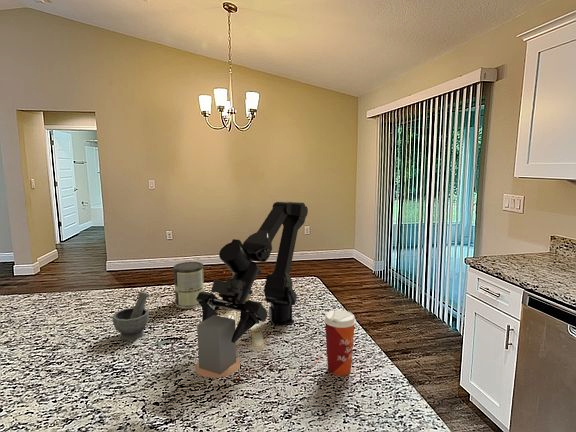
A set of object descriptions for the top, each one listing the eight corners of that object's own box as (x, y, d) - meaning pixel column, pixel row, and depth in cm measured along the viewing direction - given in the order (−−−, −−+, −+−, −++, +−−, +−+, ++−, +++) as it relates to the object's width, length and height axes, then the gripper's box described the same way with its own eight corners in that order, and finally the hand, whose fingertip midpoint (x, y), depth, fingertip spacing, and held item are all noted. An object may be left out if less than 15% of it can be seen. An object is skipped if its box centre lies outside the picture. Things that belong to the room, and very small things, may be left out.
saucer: (235, 355, 100) (234, 337, 99) (245, 378, 89) (244, 357, 89) (192, 363, 96) (191, 344, 95) (197, 387, 86) (196, 366, 85)
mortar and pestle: (130, 346, 105) (127, 305, 103) (107, 339, 109) (104, 299, 107) (160, 330, 115) (158, 292, 113) (138, 324, 119) (135, 287, 117)
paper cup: (347, 382, 87) (348, 324, 85) (318, 372, 91) (318, 317, 89) (360, 366, 94) (361, 313, 92) (332, 358, 98) (332, 306, 96)
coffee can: (169, 304, 135) (167, 266, 133) (191, 296, 144) (190, 260, 142) (188, 311, 129) (186, 271, 127) (210, 302, 138) (209, 264, 136)
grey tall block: (215, 355, 97) (214, 314, 95) (236, 361, 94) (235, 319, 92) (198, 367, 91) (197, 324, 89) (220, 374, 88) (218, 330, 86)
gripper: (199, 261, 98) (169, 317, 90) (260, 270, 89) (234, 333, 81) (219, 282, 106) (193, 335, 98) (277, 292, 97) (254, 351, 89)
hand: (217, 338), depth 91 cm, fingers open, 9 cm apart
